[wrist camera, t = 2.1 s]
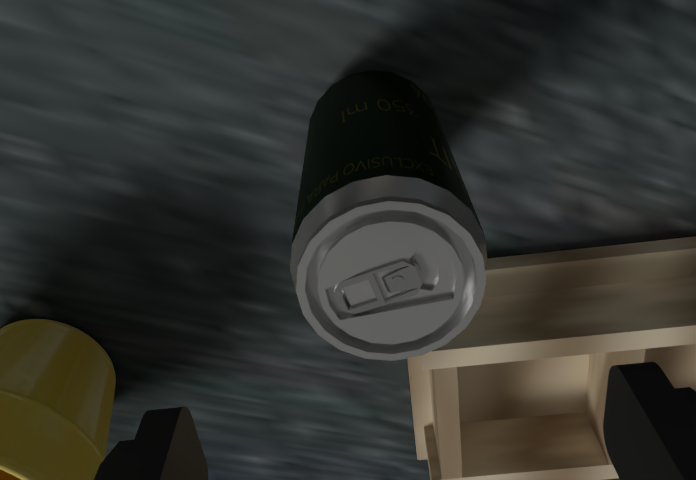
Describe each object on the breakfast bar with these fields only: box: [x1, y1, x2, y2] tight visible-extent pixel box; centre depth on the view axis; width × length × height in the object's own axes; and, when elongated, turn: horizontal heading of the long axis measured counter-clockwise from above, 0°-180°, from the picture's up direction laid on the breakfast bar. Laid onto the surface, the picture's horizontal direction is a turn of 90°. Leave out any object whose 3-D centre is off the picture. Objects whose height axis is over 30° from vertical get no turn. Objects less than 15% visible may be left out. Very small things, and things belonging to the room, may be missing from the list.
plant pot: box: [0, 319, 116, 480], centre depth 29 cm, size 10×10×10 cm
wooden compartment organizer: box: [407, 236, 696, 480], centre depth 30 cm, size 27×12×4 cm, turn 97°
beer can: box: [290, 70, 488, 361], centre depth 22 cm, size 5×5×12 cm
